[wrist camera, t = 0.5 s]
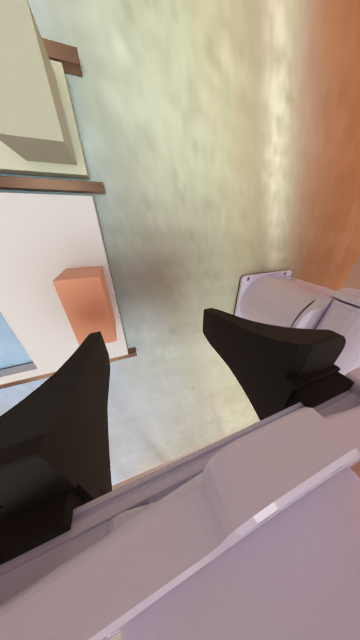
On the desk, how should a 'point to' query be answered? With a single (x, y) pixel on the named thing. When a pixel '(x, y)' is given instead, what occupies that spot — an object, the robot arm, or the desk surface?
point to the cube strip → (36, 269)
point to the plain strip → (34, 103)
